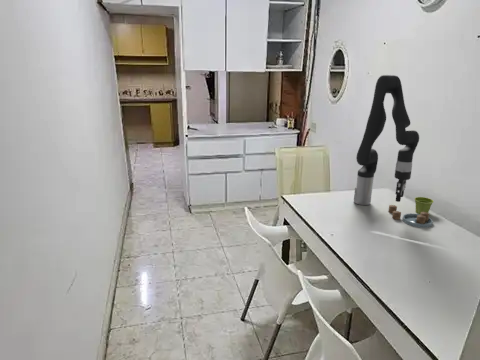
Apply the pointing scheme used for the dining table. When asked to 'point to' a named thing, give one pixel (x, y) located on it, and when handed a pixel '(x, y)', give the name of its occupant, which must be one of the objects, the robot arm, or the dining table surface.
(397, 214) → the brown rounded dome
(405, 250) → the dining table surface
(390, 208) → the pile bead
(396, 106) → the robot arm
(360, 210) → the dining table surface
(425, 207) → the plant pot
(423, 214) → the seated bead
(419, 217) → the seated bead
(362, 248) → the dining table surface
